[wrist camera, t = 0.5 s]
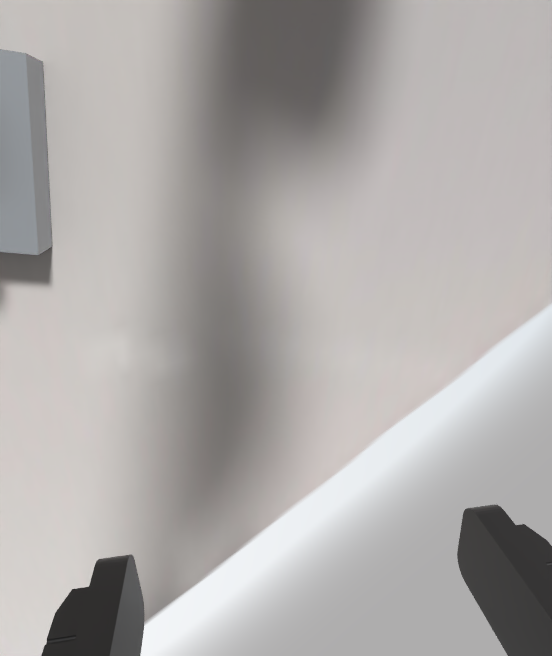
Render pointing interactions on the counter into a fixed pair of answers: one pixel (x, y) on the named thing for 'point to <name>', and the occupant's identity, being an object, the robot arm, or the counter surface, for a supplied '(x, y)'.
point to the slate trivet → (23, 156)
